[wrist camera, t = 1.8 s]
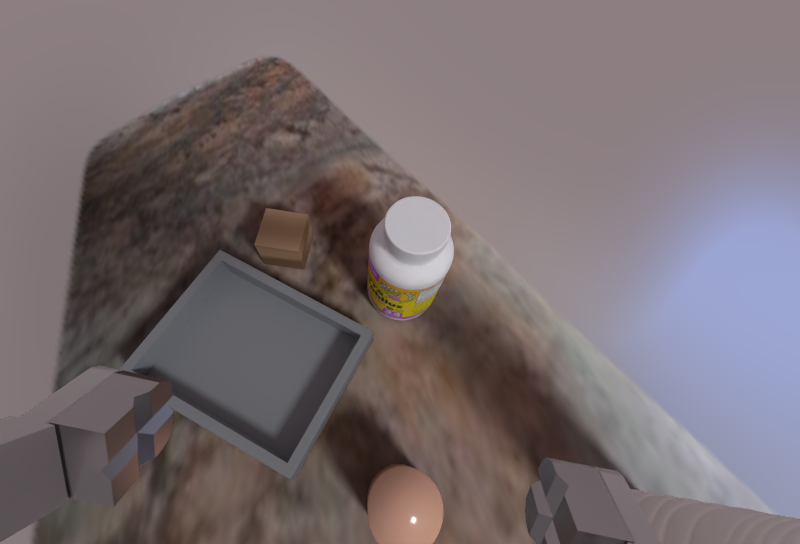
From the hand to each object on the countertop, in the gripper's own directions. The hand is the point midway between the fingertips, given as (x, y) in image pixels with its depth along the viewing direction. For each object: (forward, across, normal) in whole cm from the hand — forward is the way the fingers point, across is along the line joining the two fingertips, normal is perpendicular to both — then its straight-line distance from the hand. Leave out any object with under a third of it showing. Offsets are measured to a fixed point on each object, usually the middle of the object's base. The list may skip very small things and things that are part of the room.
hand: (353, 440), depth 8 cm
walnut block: (+30, +11, +7) cm, 33 cm away
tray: (+22, +11, +15) cm, 28 cm away
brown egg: (+16, -4, +21) cm, 27 cm away
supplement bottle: (+28, 0, +9) cm, 30 cm away
